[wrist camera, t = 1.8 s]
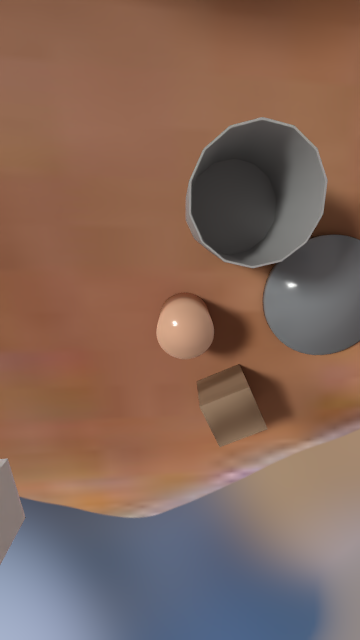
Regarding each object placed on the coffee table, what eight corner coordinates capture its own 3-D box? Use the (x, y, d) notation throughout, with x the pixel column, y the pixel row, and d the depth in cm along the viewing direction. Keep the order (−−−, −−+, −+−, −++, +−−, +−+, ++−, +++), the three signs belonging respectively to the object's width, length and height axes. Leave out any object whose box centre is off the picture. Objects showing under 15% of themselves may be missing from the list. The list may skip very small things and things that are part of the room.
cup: (287, 172, 27) (348, 139, 17) (260, 263, 29) (300, 279, 19) (196, 149, 26) (206, 102, 17) (176, 243, 28) (174, 250, 19)
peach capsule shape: (157, 294, 30) (153, 306, 25) (207, 290, 30) (212, 302, 25) (162, 341, 31) (159, 360, 27) (209, 337, 31) (215, 356, 26)
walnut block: (196, 381, 33) (199, 406, 28) (239, 363, 32) (249, 386, 27) (214, 416, 34) (219, 447, 29) (255, 400, 33) (267, 429, 29)
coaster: (262, 240, 28) (265, 240, 27) (390, 229, 28) (396, 229, 27) (262, 355, 32) (264, 358, 31) (376, 347, 31) (380, 350, 31)
